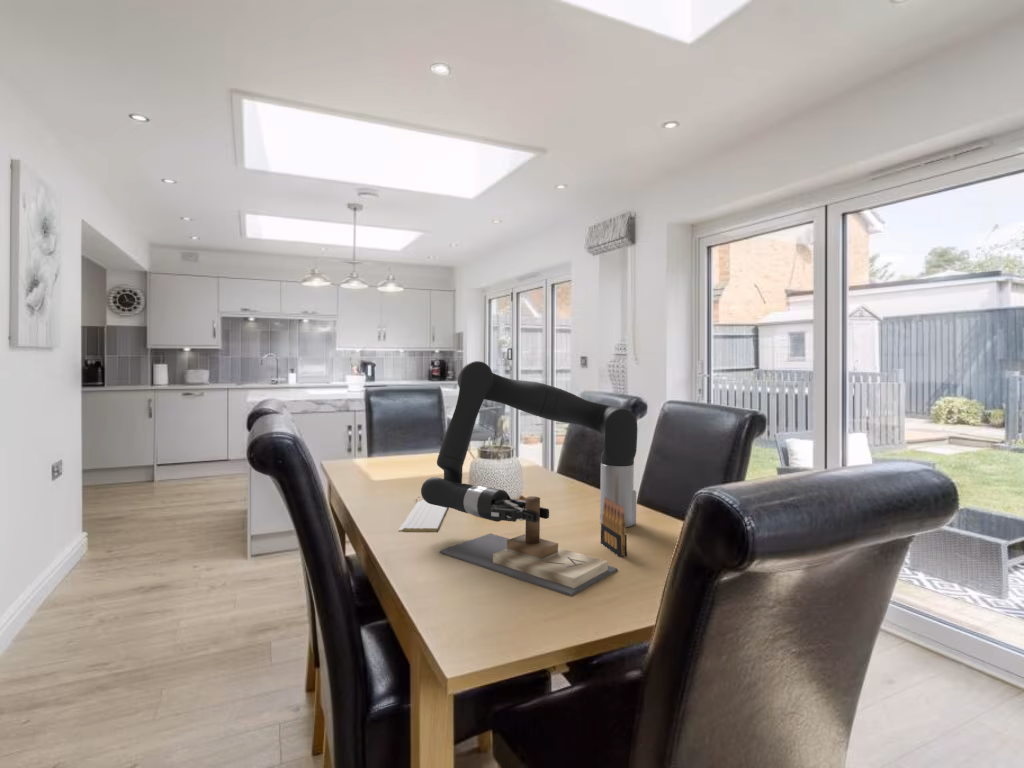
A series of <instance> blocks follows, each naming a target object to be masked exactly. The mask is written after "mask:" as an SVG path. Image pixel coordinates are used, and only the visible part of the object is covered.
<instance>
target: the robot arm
mask: <svg viewBox="0 0 1024 768" xmlns="http://www.w3.org/2000/svg"><path fill="white" fill-rule="evenodd" d="M457 376H458V377H457V385H458V388H459V390H458V397H457V400H456V403H455V404H456V405H455V408H454V411H453V414H452V417H451V419H450V422H449V424H448V426H447V429H446V431H445V434H444V437H443V440H442V443H441V446H440V449H439V452H438V455H437V459H436V465H437V466H438V467H439V468H440V469H441V470H443V478H441V477H437V476H433V477H429V478H427V479H426V480H425V481H424V482H423V483H422V486H421V488H420V495H421V498H422V500H425V501H426V502H427V503H429V504H432V505H437V506H441V507H446V508H447V509H448V508H450V509H454V510H456V511H459V512H462V513H464V514H469V515H472V516H474V517H476V518H480V519H485V520H488V521H492V522H495V523H496V522H501V521H505V522H513V523H514V522H515V523H516V522H517V521H526V520H527V521H531V522H538V521H539V513H538V512H535V511H531V510H526V497H525V498H524V500H523V499H521V500H520V499H518V498H515V497H513V498H512V497H510V495H509V493H508V492H507V491H506V490H504V489H499V488H494V487H490V486H485V485H474V484H469V483H463V467H464V462H465V460H466V458H467V453H468V450H469V447H470V443H471V438H472V435H473V431H474V428H475V425H476V421H477V418H478V416H479V412H480V410H481V407H482V405H483V402H484V401H491V402H496V403H500V404H503V405H506V406H509V407H511V408H513V409H516V410H519V411H521V412H524V413H526V414H530V415H533V416H536V417H538V418H541V419H546V420H549V421H553V422H554V421H555V422H559V423H564V424H572V425H579V426H581V427H586V428H588V429H591V430H593V431H595V432H598V433H600V434H602V435H604V447H603V451H602V452H601V455H600V491H599V492H600V495H599V496H600V497H599V498H600V499H599V500H600V501H599V502H600V505H599V506H600V509H599V510H600V511H599V512H600V513H599V514H600V515H599V523H600V525H601V524H602V514H603V505H604V499H605V497H607V500H608V499H610V502H611V501H612V500H613V503H615V502H616V504H617V506H618V504H619V505H620V508H621V506H623V508H624V513H625V528H630V527H632V526H634V525H637V491H636V490H634V483H635V482H634V480H635V479H634V478H635V475H634V471H635V466H634V464H635V457H636V454H637V447H638V446H637V445H638V444H637V443H638V421H637V418H636V415H635V414H634V413H633V412H632V411H631V410H630V409H628V408H625V407H621V406H617V405H616V406H615V405H610V404H609V405H608V404H603V403H598V402H593V401H590V400H586V399H585V398H582V397H580V396H578V395H576V394H573V393H572V392H569V391H567V390H565V389H561V388H559V387H556V386H552V385H550V384H546V383H541V382H538V381H537V382H536V381H529V380H519V379H512V378H508V377H504V376H501V375H499V374H496V373H494V372H493V370H492V369H491V367H490V366H489V365H488V364H487V363H485V362H484V361H480V360H474V361H471V362H469V363H466V364H465V365H464V366H463V367H462V369H461V370H460V372H459V374H458V375H457ZM541 518H542V519H543V520H544V519H545V520H546V519H549V518H550V510H549V509H548V508H546V507H542V506H540V519H541Z"/></svg>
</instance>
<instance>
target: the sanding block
mask: <svg viewBox="0 0 1024 768" xmlns="http://www.w3.org/2000/svg"><path fill="white" fill-rule="evenodd" d="M525 498H526V510H531V511H535V512H538V513H539V521H538V522H531V521H527V520H525V533H523V534H521V535H517V536H515V537H512V538H509V540H507V551H509V552H512V553H516V554H519V555H522V556H526V557H529V558H532V559H536V560H539V561H544V560H546V559H548V558H551V557H553V556H555V555H557V554H558V548H559V542H555V541H550V540H548V539H543V538H541V537H540V536H541V535H540V531H541V530H540V529H541V527H540V526H541V518H540V507H541V498H540V497H539V496H532V495H531V496H526V497H525Z"/></svg>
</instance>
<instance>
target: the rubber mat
mask: <svg viewBox="0 0 1024 768" xmlns="http://www.w3.org/2000/svg"><path fill="white" fill-rule="evenodd" d="M509 539H510V538H508V537H506V536H502V535H501V536H500V535H498V534H493V533H487V534H485V535H481V536H478V537H475V538H472V539H470V540H466V541H464V542H460V543H458V544H456V545H453V546H449V547H446V548H443V549H439V553H440V554H443V555H445V556H448V557H452V558H455V559H457V560H458V559H459V560H461V561H464V562H467V563H470V564H473V565H476V566H479V567H481V566H482V568H484V569H487V570H491V571H494V572H497V573H500V574H503V575H506V576H509V577H512V578H516V579H519V580H521V581H524V582H527V583H531V584H533V585H537V586H539V587H542V588H546V589H549V590H551V591H555V592H557V593H561V594H563V595H566V594H567V596H568V597H569V596H570V597H572V596H574V595H576V594H578V593H579V592H582V591H583V590H585V589H586V588H588V587H590V586H592V585H594V584H596V583H598V582H599V581H601V580H602V579H604V578H606V577H608V576H610V575H612V574H614V573H616V572H618V568H617V567H614V566H611V565H608V570H607V571H605V572H604V573H602V574H600V575H598V576H596V577H594V578H592V579H591V580H589V581H587V582H585V583H583V584H581V585H580V586H578V587H576V588H571V587H568V586H565V585H562V584H559V583H556V582H552V581H549V580H546V579H543V578H540V577H537V576H534V575H530V574H527V573H524V572H521V571H518V570H515V569H512V568H508V567H505V566H502V565H499V564H496V563H493V554H494V553H496V552H499V551H502V550H504V549H507V540H509ZM615 571H616V572H615Z"/></svg>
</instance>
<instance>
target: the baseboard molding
mask: <svg viewBox="0 0 1024 768" xmlns="http://www.w3.org/2000/svg"><path fill="white" fill-rule="evenodd" d="M418 498H419V499H420V496H418V497H417V498H416V499H415V501H416V502H417V503H416V504H415V505H414V506H413V508H412V510H411V511H410V513H408V515H407V517H406V518H405V520H404V521H403V523H402V524H401V525H400V527H399V528H398V530H399V531H398V532H438V531H439V528H440V525H441V523H442V522H443V519H444V517H445V515H446V512H447V510H448V508H446V507H441V506H437V505H432V504H429V503H427V502H426V501H425V500H424V499H422V500H421V501H420V500H419V501H418Z"/></svg>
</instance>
